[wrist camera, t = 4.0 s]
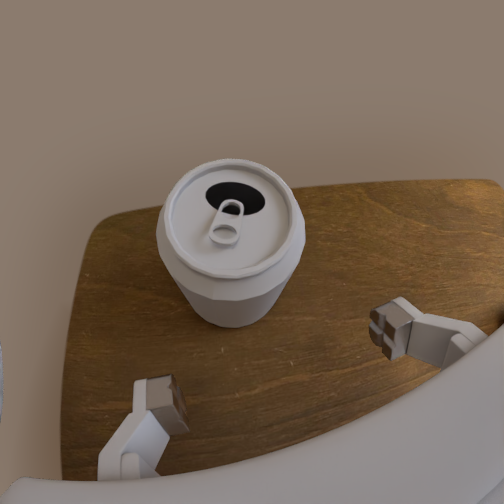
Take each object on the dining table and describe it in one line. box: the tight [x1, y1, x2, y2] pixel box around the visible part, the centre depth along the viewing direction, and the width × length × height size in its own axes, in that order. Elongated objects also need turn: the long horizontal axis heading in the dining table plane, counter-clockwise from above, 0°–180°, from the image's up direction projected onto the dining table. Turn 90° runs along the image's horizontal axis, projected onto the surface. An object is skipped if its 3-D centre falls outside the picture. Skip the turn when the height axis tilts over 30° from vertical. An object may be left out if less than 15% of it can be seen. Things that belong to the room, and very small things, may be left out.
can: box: [156, 159, 305, 328], centre depth 19 cm, size 8×8×12 cm
